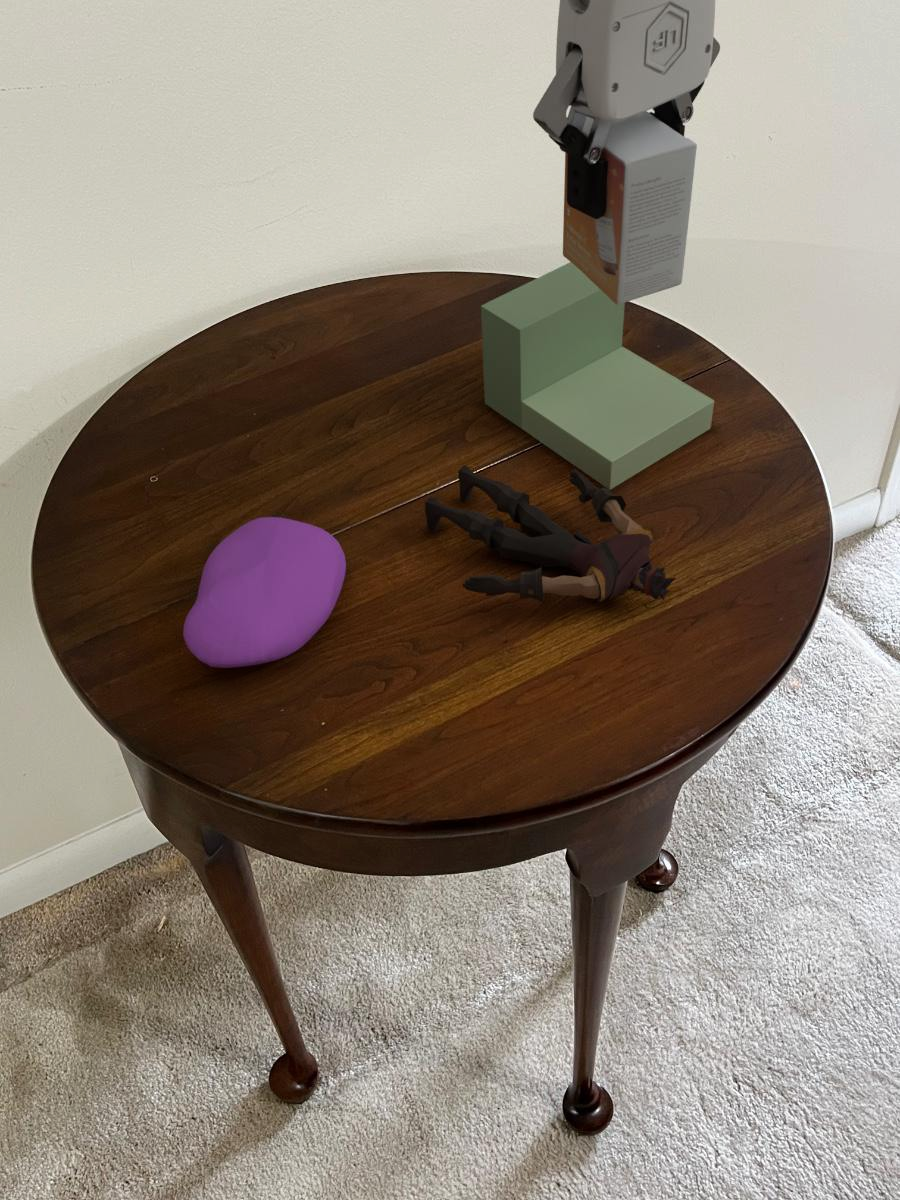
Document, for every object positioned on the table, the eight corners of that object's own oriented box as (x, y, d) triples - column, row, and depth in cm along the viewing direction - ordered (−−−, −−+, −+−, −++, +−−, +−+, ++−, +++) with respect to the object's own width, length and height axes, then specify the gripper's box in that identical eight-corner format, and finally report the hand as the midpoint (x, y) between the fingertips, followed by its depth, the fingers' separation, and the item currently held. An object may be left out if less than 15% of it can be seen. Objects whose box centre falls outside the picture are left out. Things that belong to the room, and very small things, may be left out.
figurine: (393, 578, 87) (619, 677, 78) (385, 537, 84) (619, 635, 75) (502, 472, 95) (718, 550, 86) (498, 432, 92) (722, 507, 83)
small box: (561, 257, 84) (562, 117, 77) (626, 237, 86) (633, 98, 78) (616, 307, 79) (623, 162, 71) (684, 286, 80) (698, 141, 73)
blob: (245, 711, 78) (231, 664, 74) (142, 641, 83) (124, 594, 79) (381, 590, 85) (374, 543, 82) (279, 533, 90) (268, 486, 87)
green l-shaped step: (710, 428, 96) (725, 328, 89) (609, 490, 92) (616, 389, 84) (582, 351, 106) (586, 254, 98) (484, 403, 101) (480, 305, 93)
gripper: (575, -49, 60) (569, 258, 73) (789, -123, 67) (749, 169, 80) (484, -77, 64) (493, 218, 77) (695, -144, 71) (671, 137, 84)
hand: (623, 191), depth 78 cm, fingers closed on small box, 6 cm apart
